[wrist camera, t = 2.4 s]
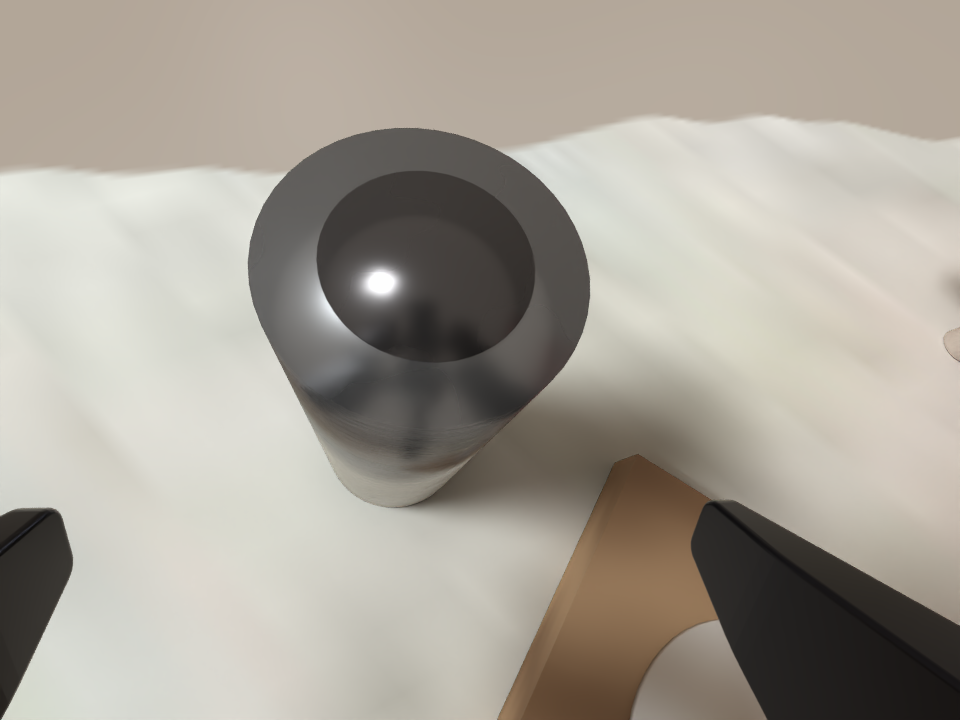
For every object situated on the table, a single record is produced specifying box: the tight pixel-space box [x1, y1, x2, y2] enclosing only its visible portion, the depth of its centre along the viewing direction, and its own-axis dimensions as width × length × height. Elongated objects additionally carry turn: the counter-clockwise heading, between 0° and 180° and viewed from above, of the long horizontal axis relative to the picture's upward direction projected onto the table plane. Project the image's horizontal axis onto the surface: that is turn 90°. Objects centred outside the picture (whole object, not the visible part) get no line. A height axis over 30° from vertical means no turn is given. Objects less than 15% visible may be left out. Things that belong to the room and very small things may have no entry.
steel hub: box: [248, 128, 590, 508], centre depth 13 cm, size 5×5×13 cm
